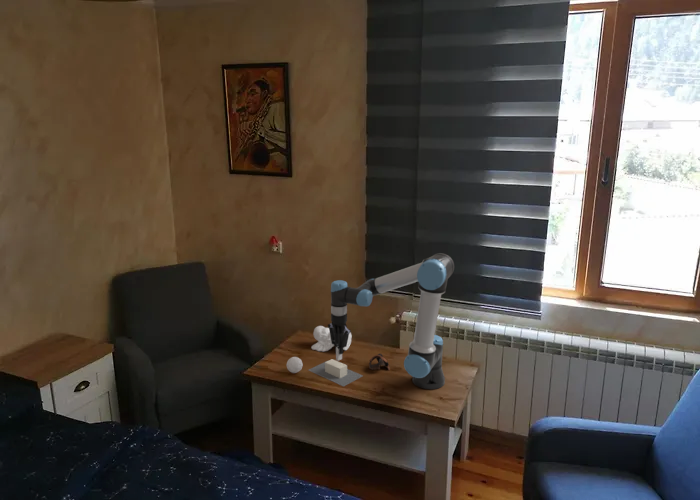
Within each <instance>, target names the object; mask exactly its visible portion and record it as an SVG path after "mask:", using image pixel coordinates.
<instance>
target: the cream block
mask: <svg viewBox="0 0 700 500" xmlns="http://www.w3.org/2000/svg"><path fill="white" fill-rule="evenodd" d="M326 361H327V362H326ZM326 361H324V362H325V372H327V373H329V374H331V375H334V376H336V377H338V378H342V377H344V376H346V375H347V369H348V364H345V363H342V362H340V361H338V360H336V359H332V358H331V359H330V360H326Z"/></svg>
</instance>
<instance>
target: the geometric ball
mask: <svg viewBox="0 0 700 500" xmlns="http://www.w3.org/2000/svg"><path fill="white" fill-rule="evenodd" d="M286 368H287V371H289V372H290V373H291V374H296V373H298V372H300V371H301V370H302V368H303V361H302V359H301V358H299V357H298V356H292V357H290V358H289V359H288V360H287V362H286Z"/></svg>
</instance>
